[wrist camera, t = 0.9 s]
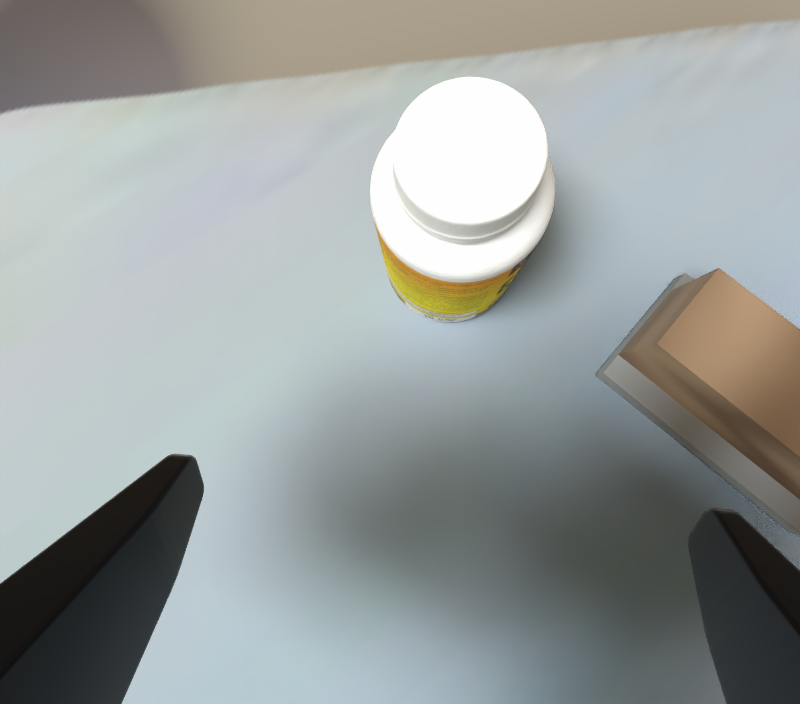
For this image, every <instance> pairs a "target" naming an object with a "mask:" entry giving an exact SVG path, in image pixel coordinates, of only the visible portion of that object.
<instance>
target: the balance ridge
mask: <svg viewBox="0 0 800 704" xmlns="http://www.w3.org/2000/svg"><path fill="white" fill-rule="evenodd" d="M595 375H596V376H597V377H599V378H600V379H601V380H602V381H604V382H605V383H606V384H607V385H608V386H610V387H611V388H612V389H613V390H615V391H616V392H617V393H618V394H620V395H621V396H622V397H623V398H624V399H626V400H627V401H628V402H629V403H631V404H632V405H633V406H634V407H636V408H637V409H638V410H639V411H641V412H642V413H643V414H644V415H645V416H647V417H648V418H649V419H650V420H652V421H653V422H654V423H655V424H657V425H658V426H659V427H660V428H662V429H663V430H664V431H665V432H666V433H668V434H669V435H670V436H671V437H673V438H674V439H675V440H676V441H678V442H679V443H680V444H681V445H683V446H684V447H685V448H686V449H687V450H689V451H690V452H691V453H692V454H694V455H695V456H696V457H697V458H699V459H700V460H701V461H702V462H703V463H705V464H706V465H707V466H708V467H710V468H711V469H712V470H713V471H715V472H716V473H717V474H718V475H720V476H721V477H722V478H723V479H724V480H726V481H727V482H728V483H729V484H731V485H732V486H733V487H734V488H736V489H737V490H738V491H739V492H741V493H742V494H743V495H744V496H745V497H747V498H748V499H749V500H750V501H752V502H753V503H754V504H755V505H757V506H758V507H759V508H760V509H761V510H763V511H764V512H765V513H766V514H768V515H769V516H770V517H771V518H773V519H774V520H775V521H776V522H778V523H779V524H780V525H781V526H782V527H784V528H785V529H786V530H787V531H789V532H791V533H794V534H797V535H800V329H799V328H797V327H796V326H795V325H793V324H792V323H791V322H789V321H788V320H787V319H785V318H784V317H783V316H782V315H780V314H779V313H778V312H776V311H775V310H774V309H772V308H771V307H770V306H768V305H767V304H766V303H764V302H763V301H762V300H760V299H759V298H758V297H756V296H755V295H754V294H753V293H751V292H750V291H749V290H747V289H746V288H745V287H743V286H742V285H741V284H739V283H738V282H737V281H735V280H734V279H733V278H731V277H730V276H729V275H727V274H726V273H725V272H723V271H722V270H721V269H720V268H718V269H716V270H714V271H711V272H709V273H707V274H705V275H703V276H701V277H699V278H697V279H695V280H694V279H693V278H691V277H690V276H689V275H687V274H686V273H685V274H683V275H681V276H679V277H677V278H675V279H674V280H673V281H672V282H671V283H670V284H669V286H668V287H667V288H666V289H665V290H664V292H663V293H662V294H661V295H660V297H659V298H658V299H657V300H656V301H655V303H654V304H653V305H652V306H651V307H650V309H649V310H648V311H647V312H646V313H645V315H644V316H643V317H642V318H641V319H640V321H639V322H638V323H637V324H636V326H635V327H634V328H633V329H632V330H631V332H630V333H629V334H628V335H627V336H626V338H625V339H624V340H623V341H622V342H621V344H620V345H619V346H618V347H617V349H616V350H615V351H614V352H613V353H612V355H611V356H610V357H609V358H608V359H607V361H606V362H605V363H604V364H603V365H602V367H601V368H600V369H599V370H598V371H597V373H596V374H595Z"/></svg>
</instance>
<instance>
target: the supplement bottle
mask: <svg viewBox="0 0 800 704" xmlns="http://www.w3.org/2000/svg"><path fill="white" fill-rule="evenodd" d="M370 201H371V209H372V214H373V218H374V222H375V226H376V230H377V233H378V237H379V241H380V245H381V249H382V254H383V258H384V262H385V266H386V270H387V274H388V277H389V280H390V283H391V285H392V287H393V289H394V291H395V292H396V294H397V296H398V297H399V298H400V300H401V301H402V302H403V303H404V304H405V305H406V306H407V307H408V308H410V309H411V310H412V311H414V312H415V313H417V314H419V315H421V316H423V317H425V318H428V319H431V320H435V321H440V322H459V321H464V320H468V319H471V318H473V317H476V316H478V315H480V314H482V313H483V312H485V311H486V310H488V309H489V308H490V307H492V306H493V305H494V304H495V303H496V302H497V301H498V300H499V298H500V297H501V296H502V295H503V293H504V292H505V291H506V289H507V288H508V286H509V285H510V283H511V282H512V280H513V279H514V278H515V276H516V275H517V273H518V272H519V270H520V269H521V267H522V266H523V264H524V263H525V261H526V260H527V258H528V257H529V256H530V254H531V253H532V252H533V250H534V249H535V247H536V246H537V244H538V243H539V241H540V239H541V238H542V236H543V234H544V232H545V231H546V229H547V226H548V224H549V221H550V219H551V216H552V212H553V209H554V202H555V177H554V172H553V168H552V164H551V161H550V159H549V156H548V144H547V136H546V132H545V128H544V126H543V123H542V121H541V119H540V117H539V115H538V113H537V111H536V110H535V109H534V107H533V106H532V105H531V103H530V102H529V101H528V100H527V99H526V98H525V97H524V96H522V95H521V94H520V93H519V92H517V91H516V90H514V89H513V88H511V87H509V86H507V85H505V84H503V83H501V82H498V81H495V80H491V79H487V78H481V77H461V78H456V79H451V80H447V81H444V82H442V83H439V84H437V85H435V86H433V87H431V88H429V89H428V90H426V91H425V92H423V93H422V94H421V95H419V96H418V97H417V98H416V99H415V100H414V101H413V102H412V103H411V104H410V105H409V107H408V108H407V109H406V110H405V112H404V113H403V115H402V117H401V119H400V121H399V123H398V125H397V128H396V130H395V131H394V132H393V133H392V134H391V136H390V137H389V138H388V139H387V141H386V142H385V144H384V145H383V147H382V149H381V151H380V153H379V155H378V157H377V159H376V161H375V165H374V168H373V172H372V177H371V184H370Z"/></svg>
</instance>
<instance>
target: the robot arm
mask: <svg viewBox="0 0 800 704" xmlns="http://www.w3.org/2000/svg"><path fill="white" fill-rule="evenodd" d="M203 493H204V484H203V480H202V477H201V474H200V470H199V467H198V464H197V461H196V458H194V457H193V456H191V455H184V454H171V455H169V456H167V457H165V458H164V459H163V460H162V461H160V462H159V463H158V464H156V465H155V466H154V467H152V468H151V469H150V470H148V471H147V472H146V473H145V474H143V475H142V476H141V477H139V478H138V479H137V480H135V481H134V482H133V483H131V484H130V485H129V486H127V487H126V488H125V489H124V490H122V491H121V492H120V493H118V494H117V495H116V496H114V497H113V498H112V499H110V500H109V501H108V502H107V503H105V504H104V505H103V506H101V507H100V508H99V509H97V510H96V511H95V512H93V513H92V514H91V515H89V516H88V517H87V518H86V519H84V520H83V521H82V522H80V523H79V524H78V525H76V526H75V527H74V528H72V529H71V530H70V531H69V532H67V533H66V534H65V535H63V536H62V537H61V538H59V539H58V540H57V541H55V542H54V543H53V544H52V545H50V546H49V547H48V548H46V549H45V550H44V551H42V552H41V553H40V554H38V555H37V556H36V557H34V558H33V559H32V560H31V561H29V562H28V563H27V564H25V565H24V566H23V567H21V568H20V569H19V570H17V571H16V572H15V573H14V574H12V575H11V576H10V577H8V578H7V579H6V580H4V581H3V582H2V583H0V704H122V701H123V699H124V697H125V695H126V692H127V690H128V688H129V686H130V683H131V681H132V679H133V676H134V674H135V672H136V670H137V667H138V665H139V663H140V661H141V658H142V656H143V654H144V651H145V649H146V647H147V645H148V642H149V640H150V638H151V636H152V633H153V631H154V629H155V626H156V624H157V622H158V620H159V617H160V615H161V613H162V611H163V608H164V606H165V604H166V601H167V599H168V597H169V595H170V592H171V590H172V588H173V585H174V583H175V580H176V578H177V575H178V572H179V569H180V566H181V564H182V560H183V557H184V554H185V551H186V548H187V545H188V542H189V538H190V535H191V532H192V529H193V526H194V523H195V520H196V516H197V513H198V510H199V507H200V504H201V501H202V497H203ZM688 547H689V553H690V558H691V563H692V569H693V574H694V579H695V584H696V589H697V594H698V599H699V604H700V609H701V614H702V619H703V624H704V629H705V633H706V637H707V641H708V644H709V648H710V652H711V655H712V658H713V661H714V665H715V668H716V671H717V674H718V678H719V681H720V684H721V687H722V691H723V694H724V697H725V700H726V703H727V704H800V570H799V569H798V568H797V567H795V566H794V565H793V564H792V563H791V562H790V561H789V560H788V559H787V558H786V557H785V556H784V555H783V554H782V553H780V552H779V551H778V550H777V549H776V548H775V547H774V546H773V545H772V544H771V543H770V542H769V541H768V540H767V539H766V538H764V537H763V536H762V535H761V534H760V533H759V532H758V531H757V530H756V529H755V528H754V527H753V526H752V525H751V524H749V523H748V522H747V521H746V520H745V519H744V518H743V517H742V516H741V515H740V514H738V513H737V512H735V511H733V510H729V509H719V508H709V509H707V510H706V511H705V512H704V513H703V515H702V516H701V518H700V520H699V521H698V523H697V524H696V526H695V527H694V529H693V530H692V532H691V534H690V536H689V541H688Z"/></svg>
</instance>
